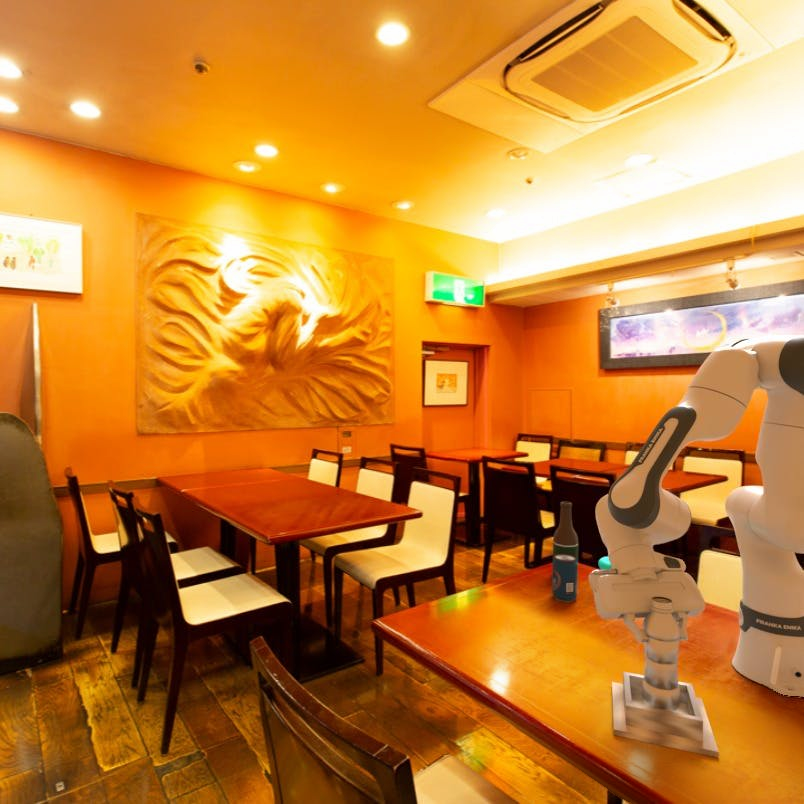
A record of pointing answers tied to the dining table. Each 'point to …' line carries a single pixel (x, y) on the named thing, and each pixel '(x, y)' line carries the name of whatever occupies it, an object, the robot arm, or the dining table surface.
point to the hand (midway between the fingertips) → (663, 640)
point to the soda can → (564, 577)
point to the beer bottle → (565, 534)
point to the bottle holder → (662, 718)
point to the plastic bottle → (661, 656)
